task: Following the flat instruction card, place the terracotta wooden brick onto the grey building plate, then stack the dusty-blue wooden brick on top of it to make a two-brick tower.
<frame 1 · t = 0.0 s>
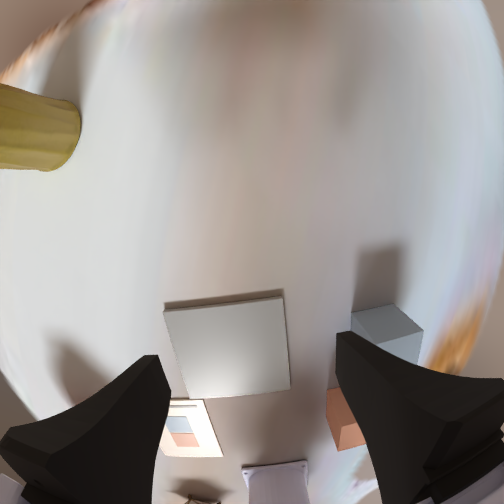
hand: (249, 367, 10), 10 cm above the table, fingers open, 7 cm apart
brick terracotta: (345, 399, 24), on the table
plate: (231, 353, 22), on the table
vase: (55, 135, 17), on the table
game die: (201, 499, 29), on the table
card: (181, 431, 24), on the table
brick blue: (371, 328, 22), on the table
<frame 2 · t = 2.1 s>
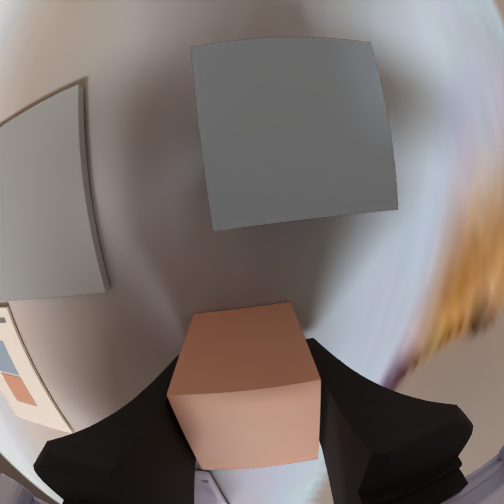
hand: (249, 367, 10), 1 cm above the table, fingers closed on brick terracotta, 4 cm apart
brick terracotta: (248, 348, 12), on the table, touching gripper
plate: (21, 207, 10), on the table
card: (11, 372, 12), on the table
brick blue: (273, 149, 10), on the table
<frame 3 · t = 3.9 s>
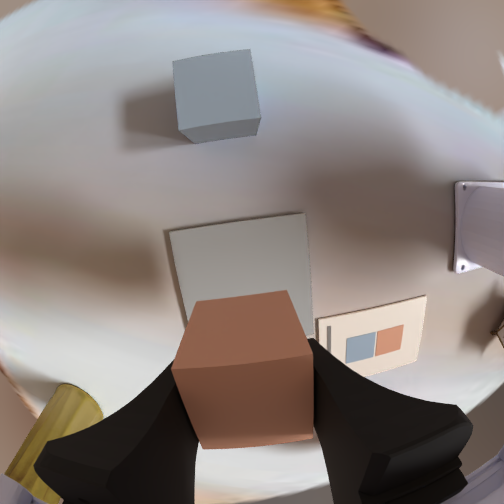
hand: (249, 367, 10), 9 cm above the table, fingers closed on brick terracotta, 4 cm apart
brick terracotta: (247, 335, 13), point 7 cm above the table, touching gripper
plate: (245, 285, 19), on the table
vase: (80, 403, 22), on the table
game die: (503, 316, 22), on the table
card: (374, 343, 21), on the table
brick blue: (221, 111, 17), on the table
when the fingers open (3 cm above the table, at t = 5.5 s): brick terracotta stays where it is, resting on plate.
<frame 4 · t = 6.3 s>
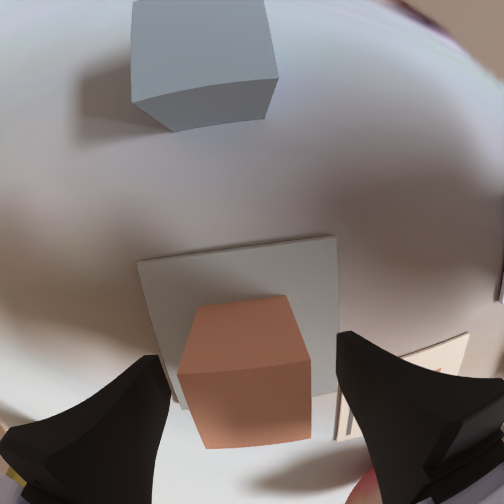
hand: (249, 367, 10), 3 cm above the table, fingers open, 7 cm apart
brick terracotta: (247, 338, 13), resting on plate
plate: (247, 336, 13), on the table
decorative fruit: (381, 460, 18), on the table
card: (406, 391, 15), on the table
brick blue: (213, 84, 11), on the table
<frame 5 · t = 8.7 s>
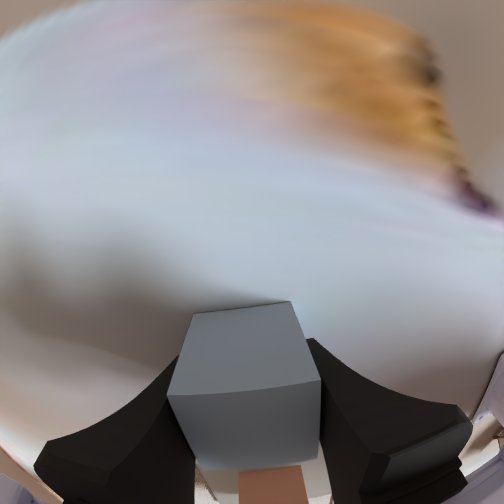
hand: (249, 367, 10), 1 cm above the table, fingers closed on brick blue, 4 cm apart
brick terracotta: (272, 481, 14), resting on plate
plate: (271, 477, 15), on the table
brick blue: (248, 348, 12), on the table, touching gripper
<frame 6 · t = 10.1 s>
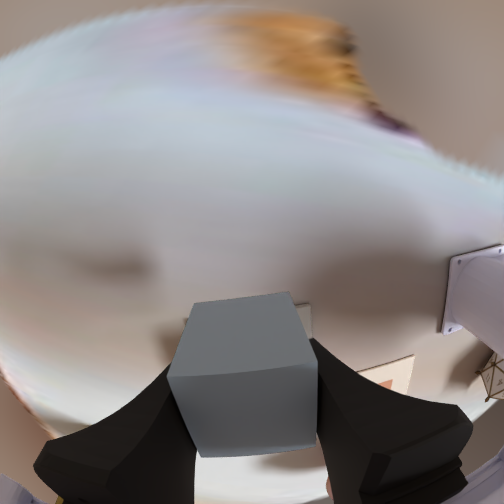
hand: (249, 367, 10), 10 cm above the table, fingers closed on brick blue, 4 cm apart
plate: (257, 360, 22), on the table
game die: (489, 357, 24), on the table
card: (366, 394, 23), on the table
brick blue: (247, 338, 12), point 8 cm above the table, touching gripper
when the fingers open (8 cm above the table, at t = 11.4 s): brick blue stays where it is, resting on brick terracotta.
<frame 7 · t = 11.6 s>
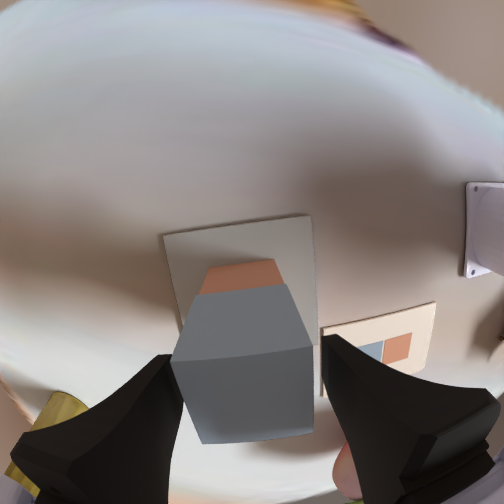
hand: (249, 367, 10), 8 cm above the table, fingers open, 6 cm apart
brick terracotta: (245, 293, 17), resting on plate, touching brick blue
plate: (246, 293, 18), on the table
vase: (74, 411, 21), on the table
decorative fruit: (367, 425, 22), on the table
card: (381, 352, 20), on the table
brick blue: (246, 329, 13), point 5 cm above the table, touching brick terracotta
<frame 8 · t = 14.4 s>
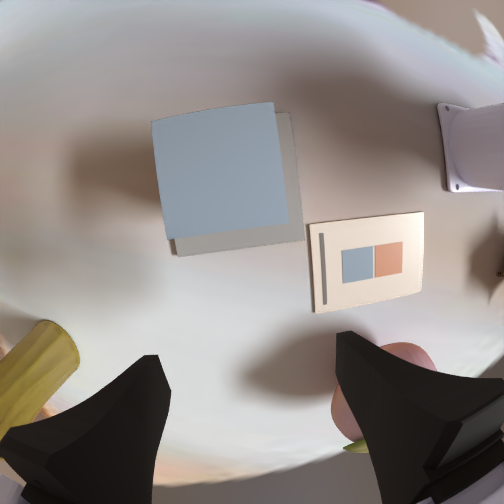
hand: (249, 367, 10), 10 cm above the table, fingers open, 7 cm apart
plate: (232, 183, 19), on the table
vase: (57, 345, 22), on the table
decorative fruit: (366, 362, 23), on the table
card: (372, 261, 20), on the table
brick blue: (226, 174, 13), point 5 cm above the table, touching brick terracotta
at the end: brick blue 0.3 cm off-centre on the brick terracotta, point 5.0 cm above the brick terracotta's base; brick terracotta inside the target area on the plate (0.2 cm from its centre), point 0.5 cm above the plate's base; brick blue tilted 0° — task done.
